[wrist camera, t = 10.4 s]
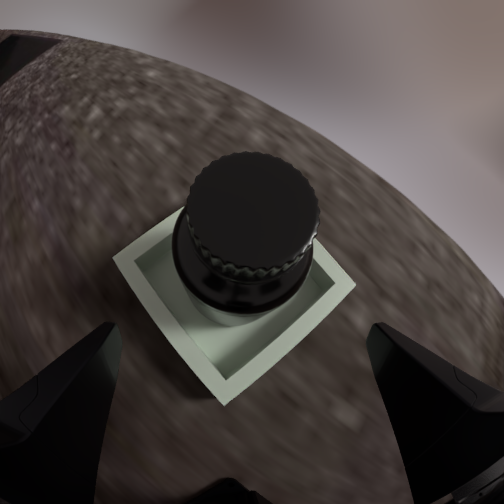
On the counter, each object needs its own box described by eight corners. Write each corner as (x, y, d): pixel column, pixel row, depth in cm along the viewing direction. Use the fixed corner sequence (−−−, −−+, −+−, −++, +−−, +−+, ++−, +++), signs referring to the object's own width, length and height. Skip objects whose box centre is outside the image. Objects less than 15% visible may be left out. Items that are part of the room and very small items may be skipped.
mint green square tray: (222, 397, 18) (223, 405, 15) (124, 269, 20) (112, 257, 17) (339, 293, 22) (356, 284, 19) (243, 186, 24) (246, 166, 21)
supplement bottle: (174, 311, 19) (120, 259, 8) (204, 229, 22) (198, 114, 10) (264, 339, 19) (328, 325, 8) (286, 255, 22) (353, 162, 11)
